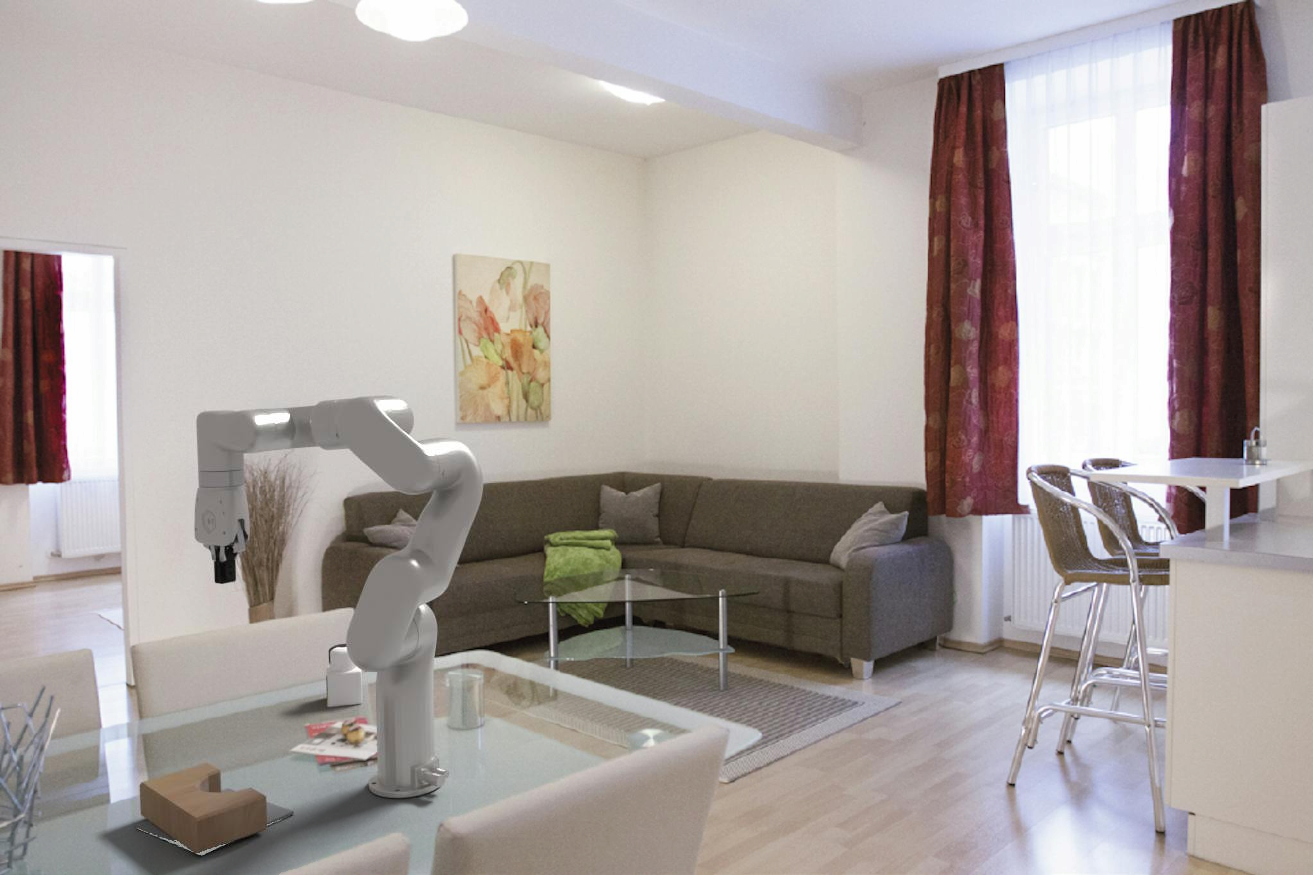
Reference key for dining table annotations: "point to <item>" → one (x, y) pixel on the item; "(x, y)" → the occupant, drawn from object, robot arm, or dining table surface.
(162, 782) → the decorative block
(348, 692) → the medicine bottle
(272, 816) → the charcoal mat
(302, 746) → the dining table surface
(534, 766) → the dining table surface
